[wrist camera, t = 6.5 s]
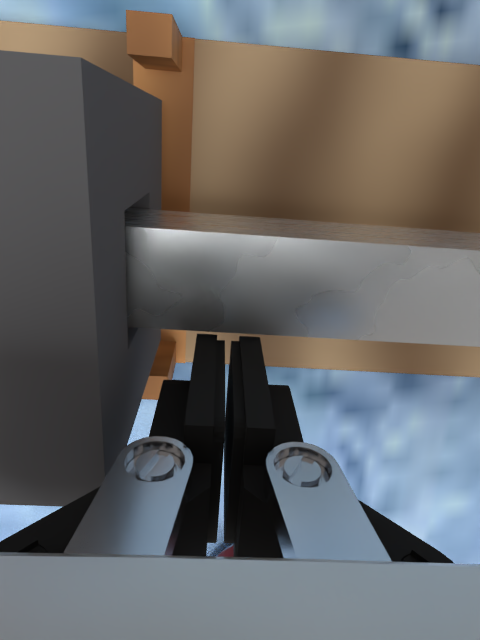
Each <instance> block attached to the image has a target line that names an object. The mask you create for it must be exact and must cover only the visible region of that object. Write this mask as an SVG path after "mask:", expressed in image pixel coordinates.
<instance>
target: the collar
mask: <svg viewBox="0 0 480 640" xmlns="http://www.w3.org/2000/svg"><path fill="white" fill-rule="evenodd" d="M161 183H162V100H160V99H158V98H157V97H155V96H153V95H151V94H149V93H147V92H145V91H143V90H141V89H140V88H138V87H136V86H134V85H132V84H130V83H128V82H126V81H124V80H123V79H121V78H119V77H117V76H115V75H113V74H111V73H109V72H107V71H106V70H104V69H102V68H100V67H98V66H96V65H94V64H92V63H90V62H89V61H87V60H85V59H83V58H81V57H71V56H60V55H49V54H38V53H26V52H15V51H4V50H0V504H7V505H37V506H66V505H67V504H69V503H71V502H73V501H75V500H76V499H78V498H80V497H82V496H84V495H86V494H87V493H89V492H91V491H93V490H95V489H96V488H98V487H100V486H101V485H102V483H103V481H104V480H105V478H106V476H107V474H108V472H109V471H110V469H111V467H112V465H113V464H114V462H115V460H116V458H117V456H118V455H119V454H120V452H121V451H122V450H123V449H124V448H125V447H126V446H127V443H128V440H129V437H130V434H131V431H132V427H133V424H134V421H135V418H136V415H137V412H138V409H139V406H140V402H141V399H142V396H143V393H144V390H145V387H146V384H147V381H148V377H149V374H150V371H151V368H152V365H153V362H154V359H155V356H156V352H157V349H158V346H159V343H160V340H161V329H152V328H134V327H127V291H126V254H125V218H124V211H125V210H126V209H127V208H137V209H151V210H161Z"/></svg>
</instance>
